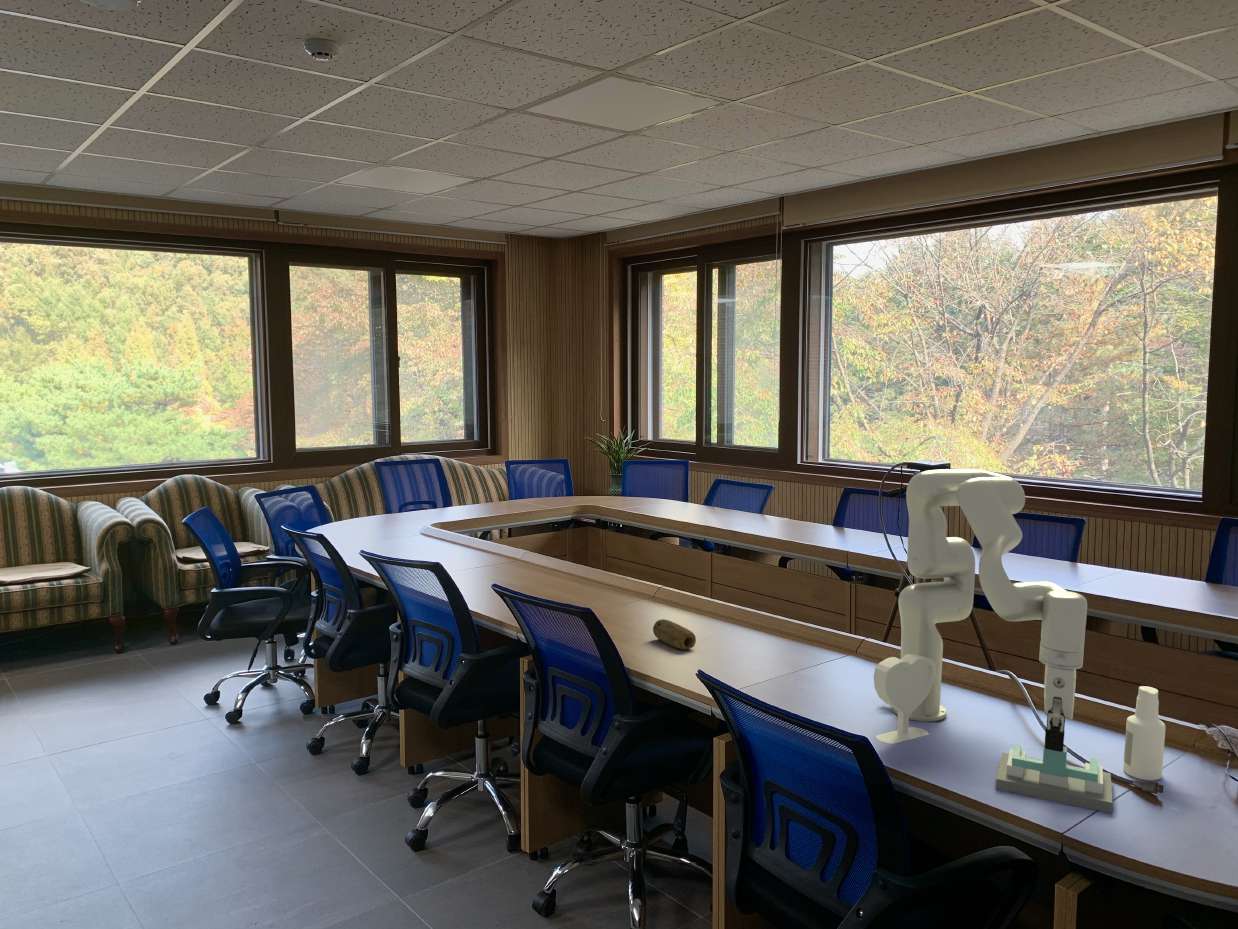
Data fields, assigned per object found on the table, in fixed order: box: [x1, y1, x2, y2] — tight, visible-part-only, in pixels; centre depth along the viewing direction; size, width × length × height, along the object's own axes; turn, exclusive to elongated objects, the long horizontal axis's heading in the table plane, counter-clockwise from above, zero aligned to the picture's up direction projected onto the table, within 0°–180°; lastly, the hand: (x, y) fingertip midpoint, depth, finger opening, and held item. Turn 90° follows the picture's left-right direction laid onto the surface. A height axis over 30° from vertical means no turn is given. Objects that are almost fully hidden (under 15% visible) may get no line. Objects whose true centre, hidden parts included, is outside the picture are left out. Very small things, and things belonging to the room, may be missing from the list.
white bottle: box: [1122, 685, 1167, 782], centre depth 180 cm, size 7×7×18 cm
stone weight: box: [652, 618, 697, 650], centre depth 263 cm, size 15×7×7 cm, turn 38°
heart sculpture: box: [873, 654, 936, 745], centre depth 198 cm, size 16×5×18 cm, turn 118°
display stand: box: [995, 747, 1113, 814], centre depth 175 cm, size 20×14×4 cm
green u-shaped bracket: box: [1012, 742, 1098, 782], centre depth 174 cm, size 15×10×5 cm, turn 62°
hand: (1054, 740), depth 172 cm, fingers open, 9 cm apart
